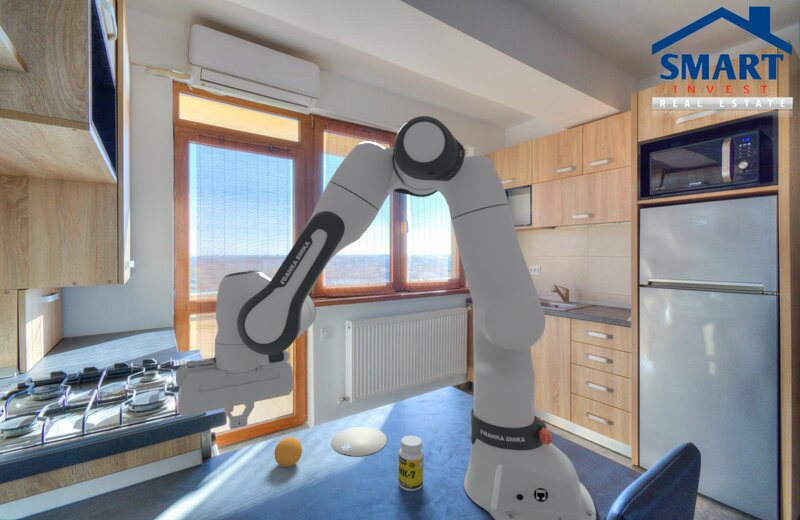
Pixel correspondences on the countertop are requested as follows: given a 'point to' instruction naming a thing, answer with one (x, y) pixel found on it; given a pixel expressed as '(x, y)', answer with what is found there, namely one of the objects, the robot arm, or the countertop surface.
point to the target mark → (359, 441)
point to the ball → (288, 451)
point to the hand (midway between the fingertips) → (238, 426)
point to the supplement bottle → (411, 463)
